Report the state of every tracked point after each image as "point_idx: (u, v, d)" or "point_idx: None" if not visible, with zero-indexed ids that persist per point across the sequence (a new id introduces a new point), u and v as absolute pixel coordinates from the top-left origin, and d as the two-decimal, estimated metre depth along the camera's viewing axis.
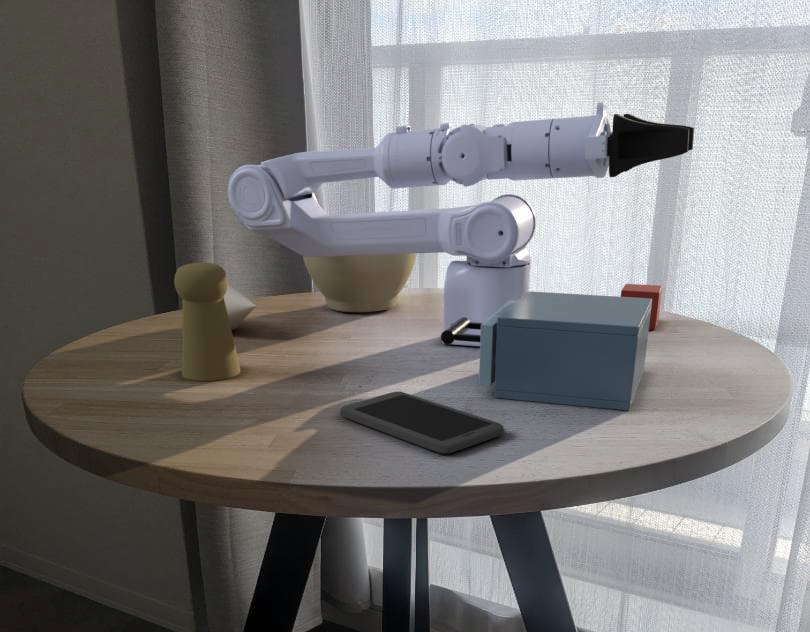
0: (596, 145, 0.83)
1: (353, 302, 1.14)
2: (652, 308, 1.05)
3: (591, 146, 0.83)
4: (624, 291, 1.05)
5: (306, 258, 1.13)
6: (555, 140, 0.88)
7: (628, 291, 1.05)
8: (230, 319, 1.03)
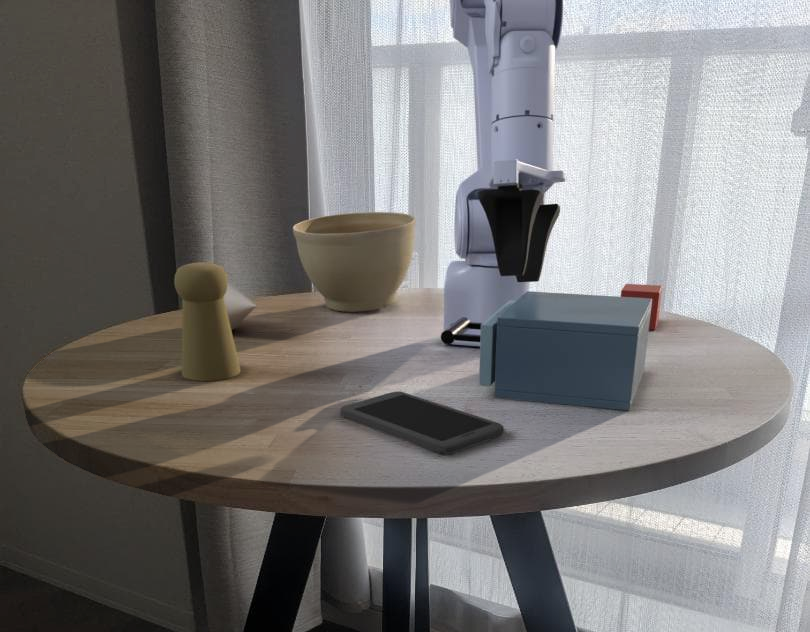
0: (507, 172, 0.74)
1: (347, 302, 1.14)
2: (652, 308, 1.05)
3: (506, 166, 0.74)
4: (624, 291, 1.05)
5: (301, 259, 1.14)
6: (525, 123, 0.77)
7: (628, 291, 1.05)
8: (230, 319, 1.03)
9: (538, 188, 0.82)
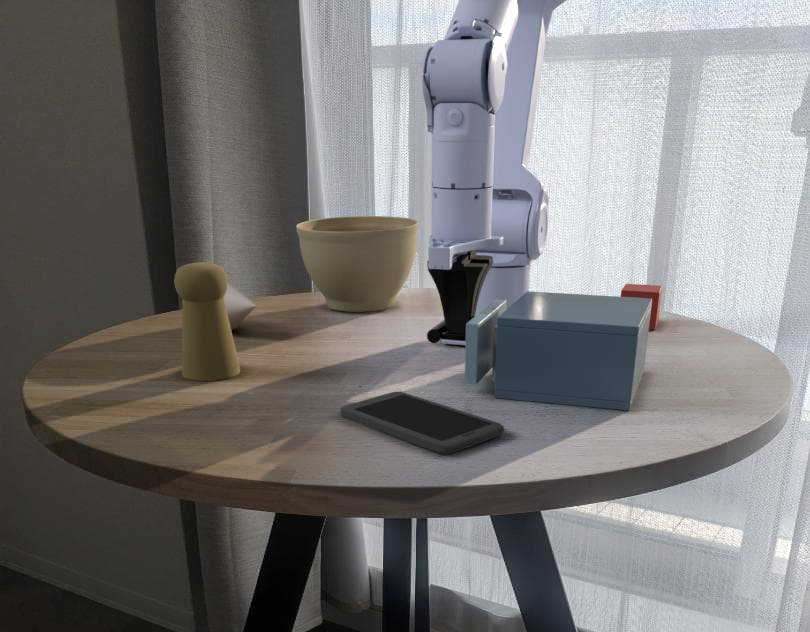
0: (440, 259, 0.77)
1: (347, 301, 1.14)
2: (652, 308, 1.05)
3: (440, 254, 0.77)
4: (624, 291, 1.05)
5: (303, 257, 1.14)
6: (462, 196, 0.79)
7: (628, 291, 1.05)
8: (230, 319, 1.03)
9: None
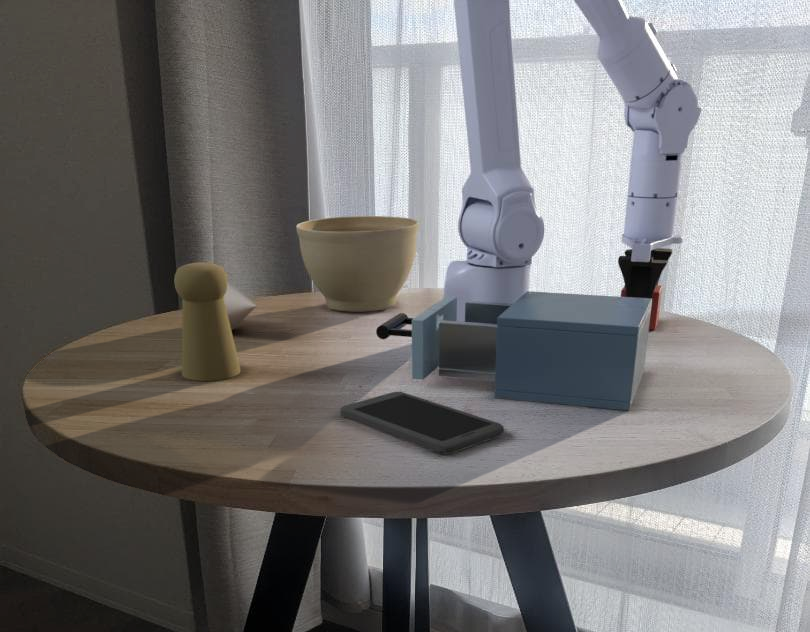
0: (642, 253, 0.98)
1: (347, 301, 1.14)
2: (652, 308, 1.05)
3: (642, 249, 0.98)
4: (624, 291, 1.05)
5: (303, 257, 1.14)
6: (657, 204, 0.99)
7: None
8: (230, 319, 1.03)
9: None
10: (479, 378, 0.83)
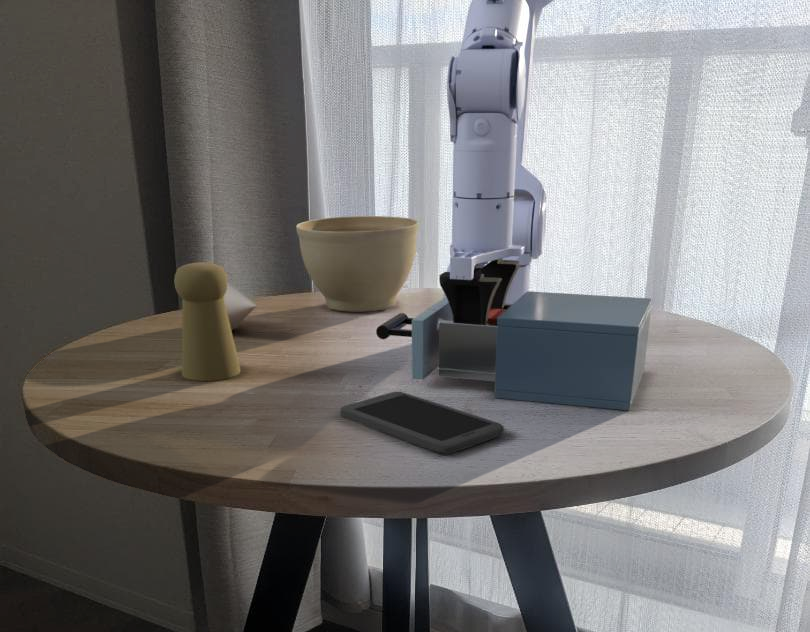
0: (462, 269, 0.77)
1: (347, 301, 1.14)
2: None
3: (462, 264, 0.77)
4: None
5: (303, 257, 1.14)
6: (484, 206, 0.79)
7: None
8: (230, 319, 1.03)
9: None
10: (479, 378, 0.83)
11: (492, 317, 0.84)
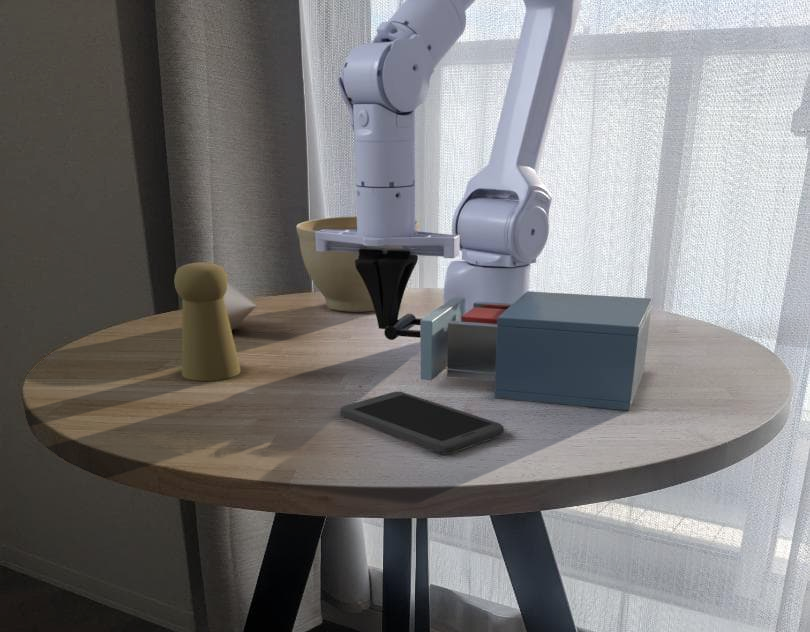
0: None
1: (347, 301, 1.14)
2: None
3: None
4: (465, 317, 0.84)
5: (303, 257, 1.14)
6: None
7: (470, 318, 0.84)
8: (230, 319, 1.03)
9: None
10: (488, 379, 0.83)
11: None
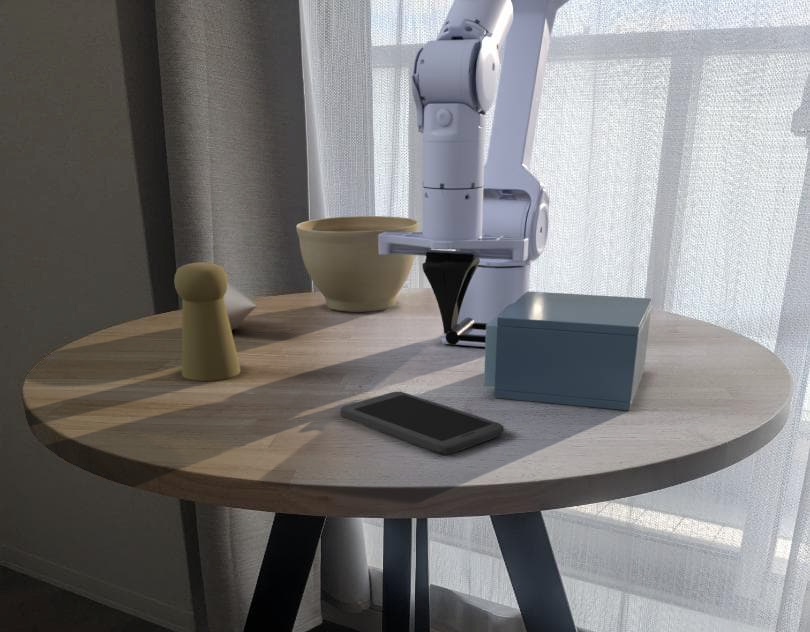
0: None
1: (347, 301, 1.14)
2: None
3: None
4: None
5: (303, 257, 1.14)
6: None
7: None
8: (230, 319, 1.03)
9: None
10: None
11: None
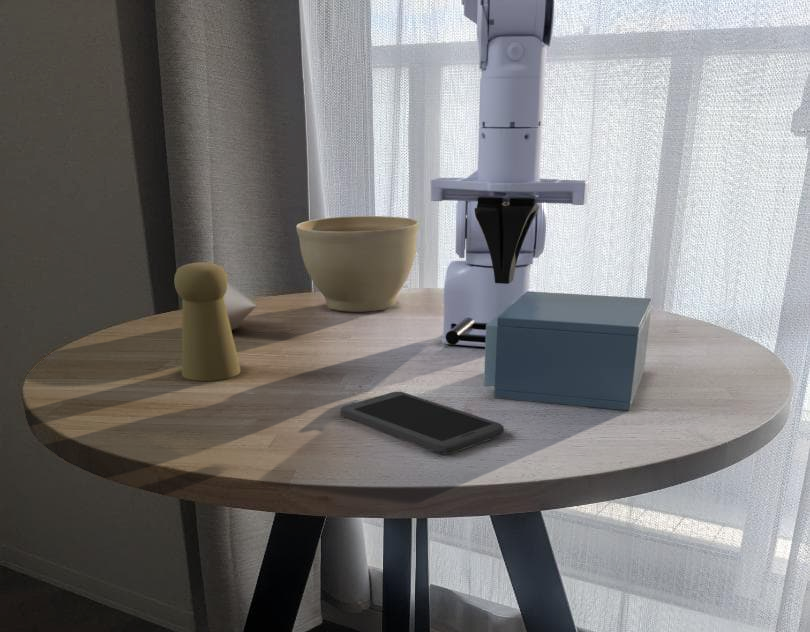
0: None
1: (347, 301, 1.14)
2: None
3: None
4: None
5: (303, 257, 1.14)
6: (479, 135, 0.79)
7: None
8: (230, 319, 1.03)
9: None
10: None
11: None
